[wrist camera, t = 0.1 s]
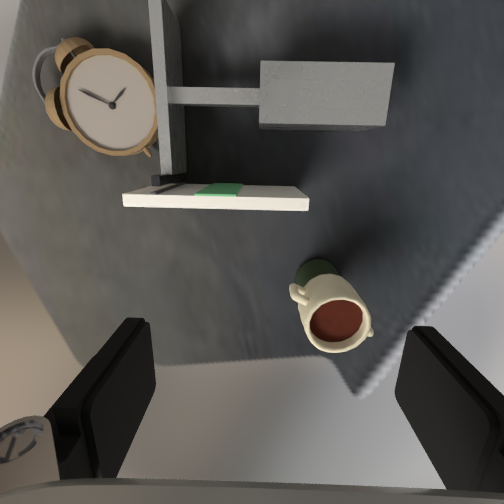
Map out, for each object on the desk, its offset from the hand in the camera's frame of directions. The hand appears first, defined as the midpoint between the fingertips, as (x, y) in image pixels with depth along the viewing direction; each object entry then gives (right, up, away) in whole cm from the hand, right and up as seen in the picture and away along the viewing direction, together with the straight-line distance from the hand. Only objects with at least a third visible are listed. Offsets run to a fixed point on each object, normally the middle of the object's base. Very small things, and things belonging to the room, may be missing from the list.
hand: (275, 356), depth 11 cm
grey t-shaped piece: (-5, +22, +25) cm, 34 cm away
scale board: (-4, +13, +29) cm, 32 cm away
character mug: (+9, 0, +33) cm, 34 cm away
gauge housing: (+6, +22, +25) cm, 34 cm away
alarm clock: (-19, +23, +26) cm, 40 cm away
